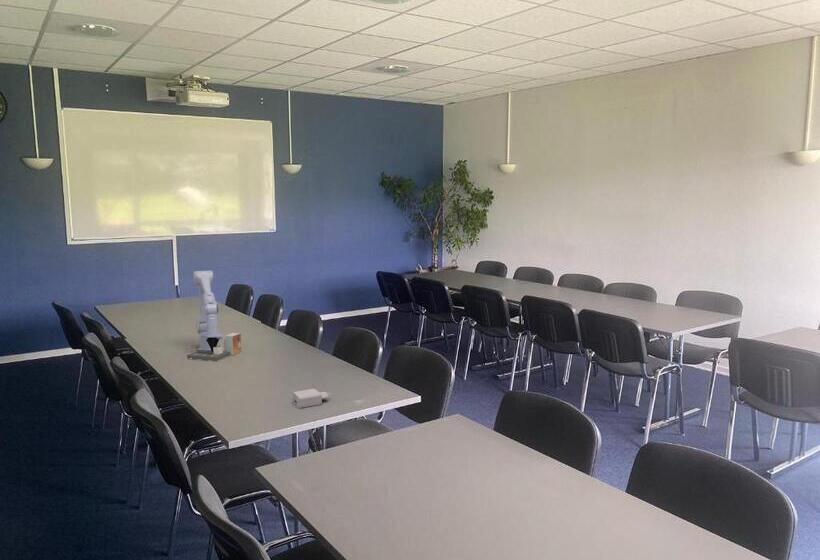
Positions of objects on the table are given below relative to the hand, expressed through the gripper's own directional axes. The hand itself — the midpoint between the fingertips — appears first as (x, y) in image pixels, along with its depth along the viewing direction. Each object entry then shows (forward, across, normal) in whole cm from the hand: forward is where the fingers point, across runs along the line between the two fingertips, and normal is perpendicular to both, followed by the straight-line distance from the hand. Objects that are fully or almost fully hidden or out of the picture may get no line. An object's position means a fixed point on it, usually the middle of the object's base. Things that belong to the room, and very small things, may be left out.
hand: (213, 351), depth 315 cm
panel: (+3, -3, 0) cm, 4 cm away
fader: (+1, +3, 0) cm, 3 cm away
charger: (+4, +83, -50) cm, 97 cm away
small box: (+3, +5, +10) cm, 12 cm away
